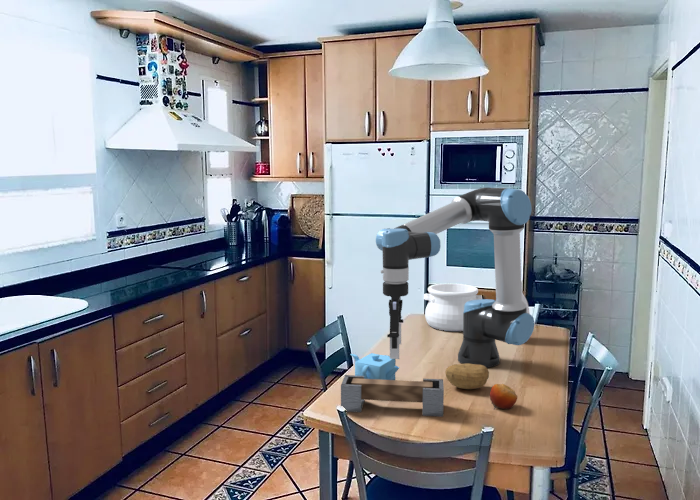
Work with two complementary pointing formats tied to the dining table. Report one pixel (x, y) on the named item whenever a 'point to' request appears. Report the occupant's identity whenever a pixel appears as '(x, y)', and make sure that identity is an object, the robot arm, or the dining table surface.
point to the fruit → (503, 396)
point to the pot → (448, 305)
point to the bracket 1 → (351, 394)
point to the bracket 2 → (433, 398)
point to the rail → (392, 389)
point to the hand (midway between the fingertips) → (395, 351)
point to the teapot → (375, 367)
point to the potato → (467, 375)
